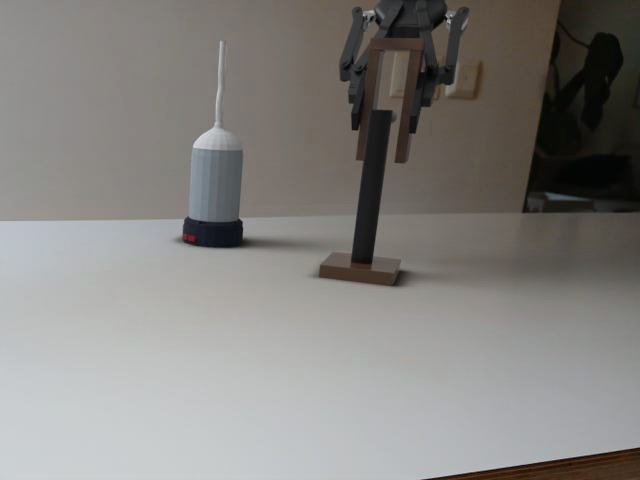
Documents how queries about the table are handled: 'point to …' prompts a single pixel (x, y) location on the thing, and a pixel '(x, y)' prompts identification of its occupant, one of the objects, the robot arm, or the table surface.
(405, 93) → the wooden arch frame
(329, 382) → the table surface
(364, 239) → the post on base
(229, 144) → the humidifier
